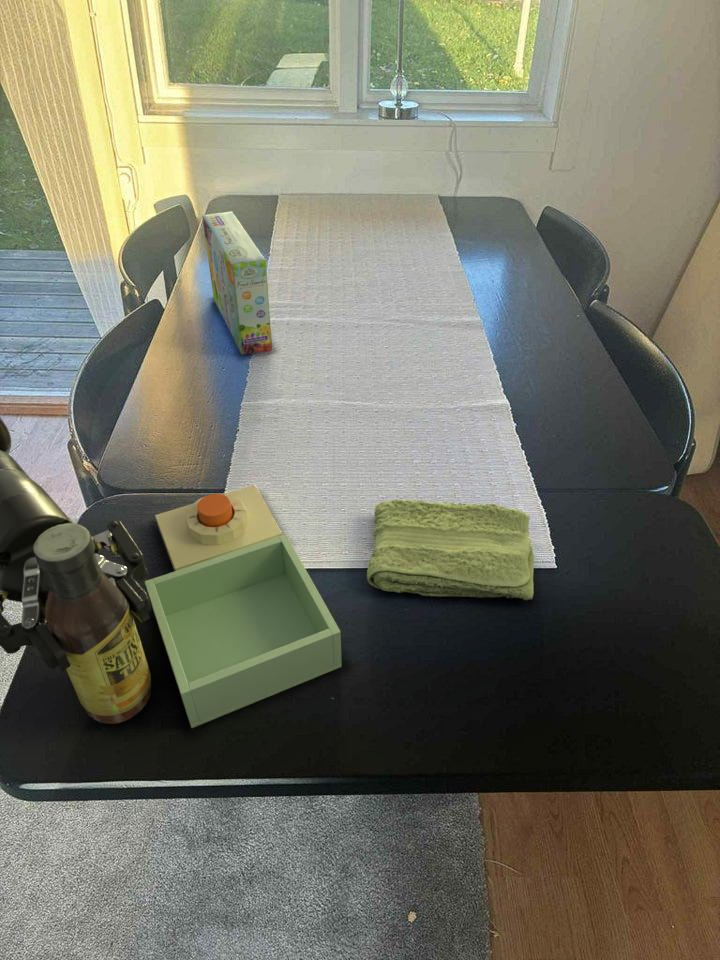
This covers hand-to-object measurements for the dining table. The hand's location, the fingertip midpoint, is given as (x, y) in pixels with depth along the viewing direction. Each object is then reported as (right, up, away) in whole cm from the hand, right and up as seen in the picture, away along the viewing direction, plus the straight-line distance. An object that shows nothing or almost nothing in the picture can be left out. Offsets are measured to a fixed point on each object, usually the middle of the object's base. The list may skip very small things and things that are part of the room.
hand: (105, 636), depth 55 cm
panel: (+4, +6, +24) cm, 25 cm away
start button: (+4, +8, +22) cm, 24 cm away
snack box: (0, +38, +61) cm, 72 cm away
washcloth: (+30, +4, +22) cm, 38 cm away
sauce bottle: (-2, -7, +9) cm, 11 cm away
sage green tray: (+9, -3, +13) cm, 17 cm away
